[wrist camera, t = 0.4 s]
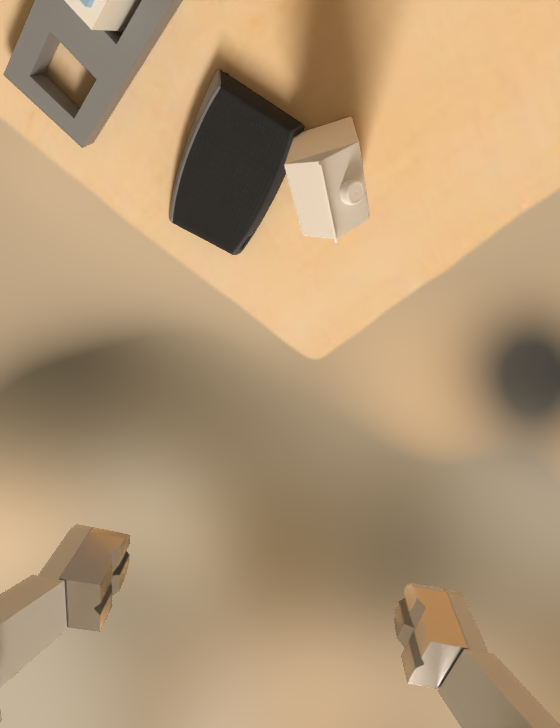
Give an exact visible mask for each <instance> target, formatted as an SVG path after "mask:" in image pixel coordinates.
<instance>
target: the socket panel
mask: <svg viewBox="0 0 560 728" xmlns="http://www.w3.org/2000/svg"><path fill="white" fill-rule="evenodd" d="M181 2H182V0H142V1H141V2H140V4H139V6H138V8H137V9H136V11H135V13H134V15H133V16H132V18H131V20H130V22H129V23H128V25H127V27H126V29H125V30H124V32H123V34H122V36H120V35H119V34H118V33H117V32H116V31H109V30H91V29H90V28H89V27H88V26H87V25H86V23H85V22H84V21H83V20H82V19H81V18H80V17H79V16H78V15H77V14H76V13H75V11H74V10H73V9H72V8H71V7H70V6H69V5H68V4H67V3H66V2H65V1H64V0H35V1H34V4H33V6H32V8H31V11H30V13H29V15H28V18H27V20H26V23H25V25H24V27H23V30H22V32H21V34H20V37H19V39H18V42H17V44H16V46H15V49H14V51H13V53H12V56H11V58H10V60H9V63H8V65H7V68H6V70H5V72H4V76H5V77H6V78H7V79H8V80H10V81H11V82H12V83H13V84H14V85H15V86H16V87H17V88H18V89H19V90H20V91H21V92H22V93H24V94H25V95H26V96H27V97H28V98H29V99H30V100H31V101H32V102H33V103H34V104H35V105H37V106H38V107H39V108H40V109H41V110H42V111H43V112H44V113H45V114H46V115H47V116H48V117H49V118H51V119H52V120H53V121H54V122H55V123H56V124H57V125H58V126H59V127H60V128H61V129H62V130H63V131H65V132H66V133H67V134H68V135H69V136H70V137H71V138H72V139H73V140H74V141H75V142H76V143H77V144H79V145H80V146H81V147H82V148H83V147H85V146H87V145H90V144H92V143H94V141H95V139H96V138H97V136H98V135H99V133H100V131H101V130H102V128H103V127H104V125H105V123H106V122H107V120H108V119H109V117H110V115H111V114H112V112H113V111H114V109H115V107H116V106H117V104H118V103H119V101H120V99H121V98H122V96H123V95H124V93H125V91H126V90H127V88H128V87H129V85H130V83H131V82H132V80H133V79H134V77H135V75H136V74H137V72H138V71H139V69H140V68H141V66H142V64H143V63H144V61H145V60H146V58H147V56H148V55H149V53H150V52H151V50H152V48H153V47H154V45H155V44H156V42H157V40H158V39H159V37H160V36H161V34H162V32H163V31H164V29H165V28H166V26H167V24H168V23H169V21H170V20H171V18H172V16H173V15H174V13H175V12H176V10H177V8H178V7H179V5H180V4H181ZM60 42H61V43H62V44H63V45H64V46H65V47H66V48H67V49H68V50H69V51H70V53H71V54H72V55H73V56H74V57H75V58H76V59H77V60H78V61H79V62H80V63H81V64H82V65H83V66H84V67H85V68H86V69H87V70H88V71H89V72H90V73H91V74H92V75H93V76H94V77H95V78H96V79H97V80H96V81H95V83H94V85H93V87H92V88H91V90H90V92H89V94H88V95H87V97H86V99H85V101H84V102H83V104H82V106H81V108H79V107H78V106H76V105H75V104H74V103H73V102H72V101H71V100H70V99H69V98H68V97H67V96H66V95H65V94H64V93H63V92H62V91H61V90H60V89H59V88H58V87H57V86H56V85H55V84H54V83H53V82H52V81H51V80H50V79H49V78H48V77H47V76H46V75H45V72H46V70H47V68H48V65H49V63H50V61H51V59H52V57H53V55H54V53H55V51H56V49H57V47H58V45H59V43H60Z"/></svg>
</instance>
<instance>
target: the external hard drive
mask: <svg viewBox="0 0 560 728" xmlns="http://www.w3.org/2000/svg"><path fill="white" fill-rule="evenodd" d="M303 129H304V125H303V124H302V123H300V122H299V121H297V120H296V119H294V118H292V117H291V116H290V115H288V114H287V113H285V112H283V111H282V110H280V109H279V108H278V107H276V106H275V105H273V104H272V103H270V102H269V101H267V100H265V99H264V98H262V97H261V96H259V95H258V94H256V93H255V92H253V91H252V90H250V89H249V88H247V87H246V86H245V85H243V84H241V83H240V82H238V81H237V80H235V79H234V78H232V77H231V76H229V74H227V73H225V72H223V71H222V70H220V69H217V71H216V73H215V75H214V77H213V79H212V81H211V83H210V85H209V88H208V90H207V92H206V94H205V97H204V99H203V101H202V104H201V106H200V108H199V111H198V113H197V116H196V118H195V121H194V123H193V126H192V129H191V131H190V134H189V137H188V139H187V142H186V145H185V148H184V152H183V155H182V158H181V161H180V165H179V168H178V172H177V176H176V180H175V184H174V188H173V193H172V198H171V203H170V209H169V219H170V221H171V222H172V223H174V224H176V225H178V226H179V227H181V228H183V229H185V230H187V231H189V232H191V233H193V234H195V235H197V236H198V237H200V238H202V239H204V240H206V241H208V242H210V243H212V244H214V245H216V246H217V247H219V248H221V249H223V250H225V251H227V252H229V253H230V254H232V255H237V254H239V253H241V252H242V250H243V249H244V248H245V246H246V245H247V244H248V242H249V241H250V239H251V237H252V236H253V234H254V233H255V231H256V230H257V228H258V226H259V225H260V223H261V221H262V220H263V218H264V216H265V214H266V213H267V211H268V209H269V207H270V205H271V203H272V201H273V200H274V198H275V196H276V194H277V191H278V189H279V187H280V185H281V183H282V181H283V179H284V177H285V175H286V171H285V166H284V164H285V162H286V159H287V156H288V153H289V150H290V147H291V144H292V141H293V138H294V137H295V136H297V135H298V134H300V133H301V132H303Z"/></svg>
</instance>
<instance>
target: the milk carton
mask: <svg viewBox="0 0 560 728" xmlns="http://www.w3.org/2000/svg"><path fill="white" fill-rule="evenodd" d="M284 166H285V171H286V175H287V179H288V182H289V186H290V190H291V194H292V198H293V201H294V205H295V209H296V213H297V217H298V221H299V224H300V228H301V232H302V235H303V236H312V237H322V238H331V239H334V241H335V243H337V238H339V237H340V236H342V235H344V234H345V233H347V232H349V231H350V230H352V229H354V228H355V227H357V226H359V225H360V224H362V223H364V222H365V221H367V220H368V219H369V217H370V215H369V206H368V199H367V192H366V185H365V178H364V171H363V164H362V157H361V151H360V145H359V141H358V137H357V134H356V130H355V127H354V123H353V120H352V117H351V116H350V117H347V118H344V119H341V120H337V121H334V122H331V123H328V124H325V125H322V126H319V127H316V128H313V129H310V130H307V131H303V132H301V133H300V134H298V135H297V136H295V137H294V138H293V141H292V144H291V147H290V150H289V153H288V156H287V159H286V162H285V164H284Z"/></svg>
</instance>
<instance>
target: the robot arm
mask: <svg viewBox="0 0 560 728" xmlns="http://www.w3.org/2000/svg"><path fill="white" fill-rule="evenodd" d="M129 544H130V535H128V534H123V533H118V532H113V531H109V530H104V529H99V528H94V527H88V526H83V525H78V524H77V525H75V526H74V527H73V528H71V529H70V531H69V532H68V534H67V535H66V536H65V538H64V539H63V541H62V542H61V544H60V545H59V547H58V548H57V549H56V551H55V552H54V553H53V555H52V556H51V558H50V559H49V561H48V562H47V563H46V565H45V566H44V568H43V569H42V570H41V572H40V574H39V575H38V576H36V575H31V576H30V577H28V578H26V579H25V580H23V581H21V582H20V583H18V584H16V585H15V586H13V587H11V588H10V589H8V590H7V591H5V592H3V593H1V594H0V687H2V686H3V685H4V684H5V683H6V682H7V681H8V680H10V679H11V678H12V677H13V676H14V675H15V674H16V673H18V672H19V671H20V670H21V669H22V668H23V667H25V666H26V665H27V664H28V663H29V662H30V661H32V660H33V659H34V658H35V657H36V656H37V655H38V654H40V653H41V652H42V651H43V650H44V649H45V648H46V647H48V646H49V645H50V644H51V643H52V642H53V641H54V640H56V639H57V638H58V637H59V636H60V635H61V634H63V633H64V632H65V631H66V630H67V627H69V628H77V629H84V630H92V631H99V632H100V631H101V629H102V626H103V624H104V622H105V620H106V618H107V616H108V614H109V612H110V610H111V607H112V595H114V594H115V593H117V592H118V591H119V590H120V588H121V586H122V583H123V581H124V578H125V575H126V572H127V569H128V564H129V554H128V552H127V551H126V550H127V548H128V546H129ZM404 595H405V598H404V599H402V600H400V601H399V602H398V605H397V607H396V609H395V619H394V620H395V630H396V635H397V638H398V640H399V641H400V642H401V644H402V645H403V646H404V650H403V653H402V655H401V657H402V661H403V666H404V670H405V674H406V679H407V683H409V684H414V685H420V686H424V687H429V688H434V689H439V690H438V692H439V694H440V695H441V697H442V698H443V700H444V701H445V703H446V704H447V706H448V707H449V709H450V710H451V712H452V713H453V715H454V717H455V718H456V720H457V721H458V723H459V724H460V726H461V727H462V728H560V724H559V723H558V722H557V721H556V720H555V719H554V718H553V717H552V716H551V715H550V713H549V712H548V711H547V710H546V709H545V708H544V707H543V706H542V705H541V704H540V703H539V702H538V701H537V699H536V698H535V697H534V696H532V694H531V693H530V692H529V691H528V690H527V689H526V688H525V687H524V686H523V685H522V683H520V681H519V680H518V679H517V678H516V677H515V676H514V675H513V674H512V673H511V672H510V671H509V670H508V668H507V667H506V666H505V665H504V664H503V663H502V662H501V661H500V660H499V659H498V658H497V657H496V656H495V655H494V654H492V653H488V650H487V648H486V646H485V644H484V641H483V639H482V636H481V634H480V632H479V629H478V627H477V625H476V622H475V620H474V618H473V615H472V613H471V611H470V608H469V606H468V604H467V602H466V599H465V597H464V595H463V594H462V593H461V592H457V591H451V590H446V589H442V588H437V587H430V586H423V585H418V584H411V583H409V584H408V585H406V587H405V590H404ZM1 720H2V718H1V712H0V722H1Z"/></svg>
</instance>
